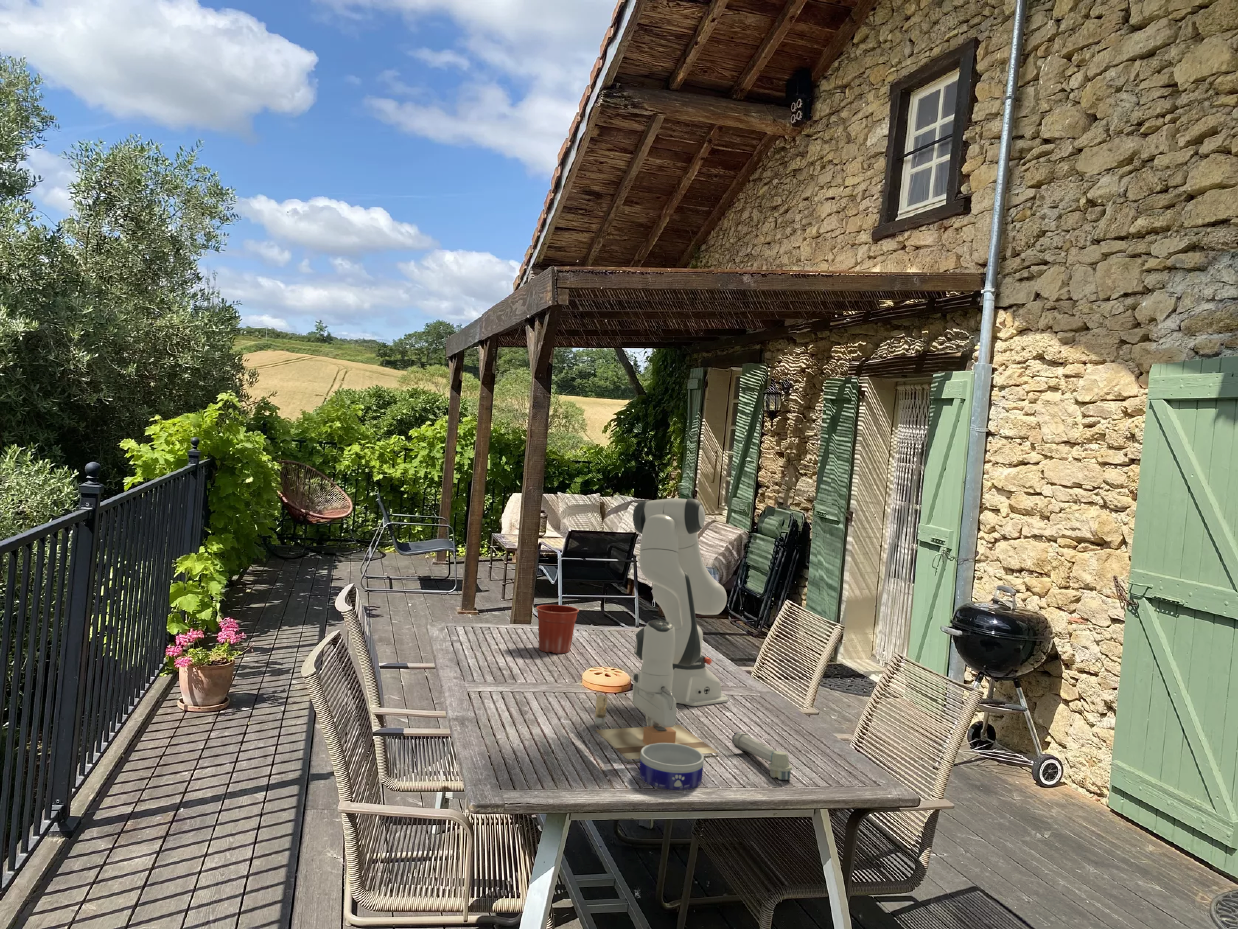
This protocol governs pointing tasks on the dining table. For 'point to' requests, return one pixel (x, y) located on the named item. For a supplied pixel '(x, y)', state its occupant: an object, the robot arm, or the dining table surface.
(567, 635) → the flower pot
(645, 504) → the robot arm
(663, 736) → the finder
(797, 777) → the dining table surface
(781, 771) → the angle head flashlight
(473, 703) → the dining table surface
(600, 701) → the amber glass vial
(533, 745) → the dining table surface
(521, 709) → the dining table surface
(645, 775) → the dog bowl
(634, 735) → the panel
